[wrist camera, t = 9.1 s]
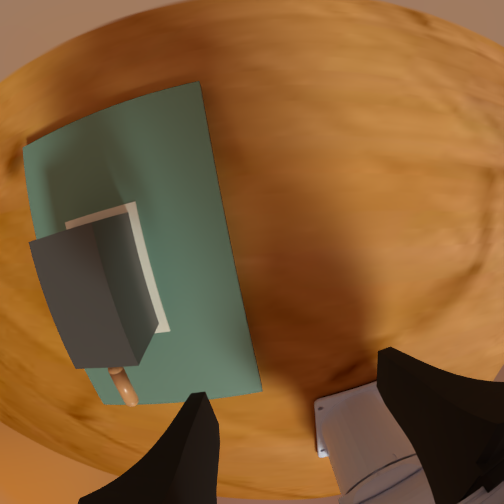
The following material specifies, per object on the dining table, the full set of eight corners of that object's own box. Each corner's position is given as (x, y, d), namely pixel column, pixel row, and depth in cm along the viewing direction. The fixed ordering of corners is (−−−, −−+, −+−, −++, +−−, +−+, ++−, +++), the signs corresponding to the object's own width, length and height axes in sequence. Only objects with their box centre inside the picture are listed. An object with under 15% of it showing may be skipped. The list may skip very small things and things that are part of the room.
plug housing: (175, 367, 19) (162, 414, 14) (123, 371, 19) (101, 414, 14) (128, 211, 16) (91, 222, 11) (73, 227, 16) (28, 242, 11)
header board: (261, 383, 21) (265, 413, 17) (107, 397, 21) (94, 422, 17) (200, 86, 16) (194, 65, 12) (30, 148, 15) (2, 145, 12)
